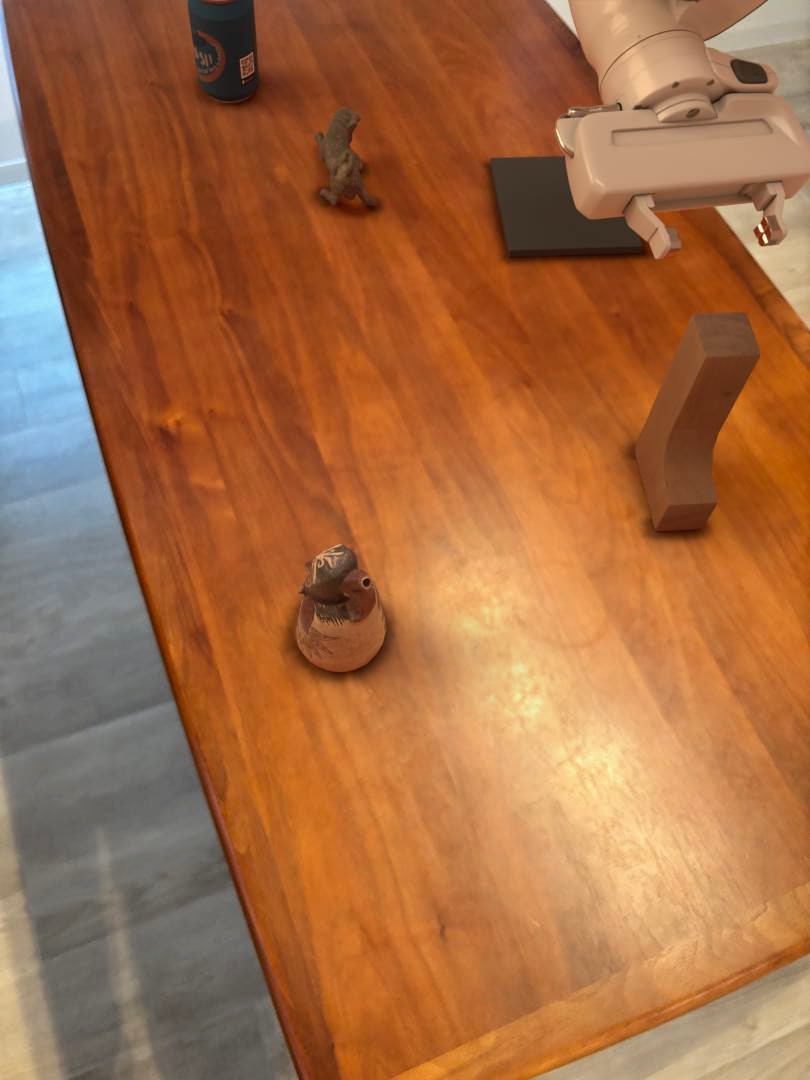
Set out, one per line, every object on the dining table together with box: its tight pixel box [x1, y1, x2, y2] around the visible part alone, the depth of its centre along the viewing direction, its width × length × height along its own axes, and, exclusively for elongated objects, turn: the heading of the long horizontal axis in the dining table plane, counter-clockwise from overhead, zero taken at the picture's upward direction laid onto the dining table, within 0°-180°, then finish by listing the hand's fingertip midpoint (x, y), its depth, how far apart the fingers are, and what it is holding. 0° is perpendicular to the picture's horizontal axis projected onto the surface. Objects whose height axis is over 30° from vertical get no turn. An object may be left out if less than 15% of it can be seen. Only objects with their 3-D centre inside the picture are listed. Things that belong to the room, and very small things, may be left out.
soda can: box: [186, 0, 261, 104], centre depth 109 cm, size 7×7×12 cm
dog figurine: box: [314, 106, 378, 207], centre depth 105 cm, size 12×6×7 cm, turn 9°
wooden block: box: [633, 311, 761, 532], centre depth 82 cm, size 9×4×18 cm, turn 6°
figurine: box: [294, 543, 387, 673], centre depth 76 cm, size 7×7×12 cm
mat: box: [489, 155, 644, 258], centre depth 107 cm, size 14×14×1 cm
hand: (723, 247), depth 77 cm, fingers open, 8 cm apart
